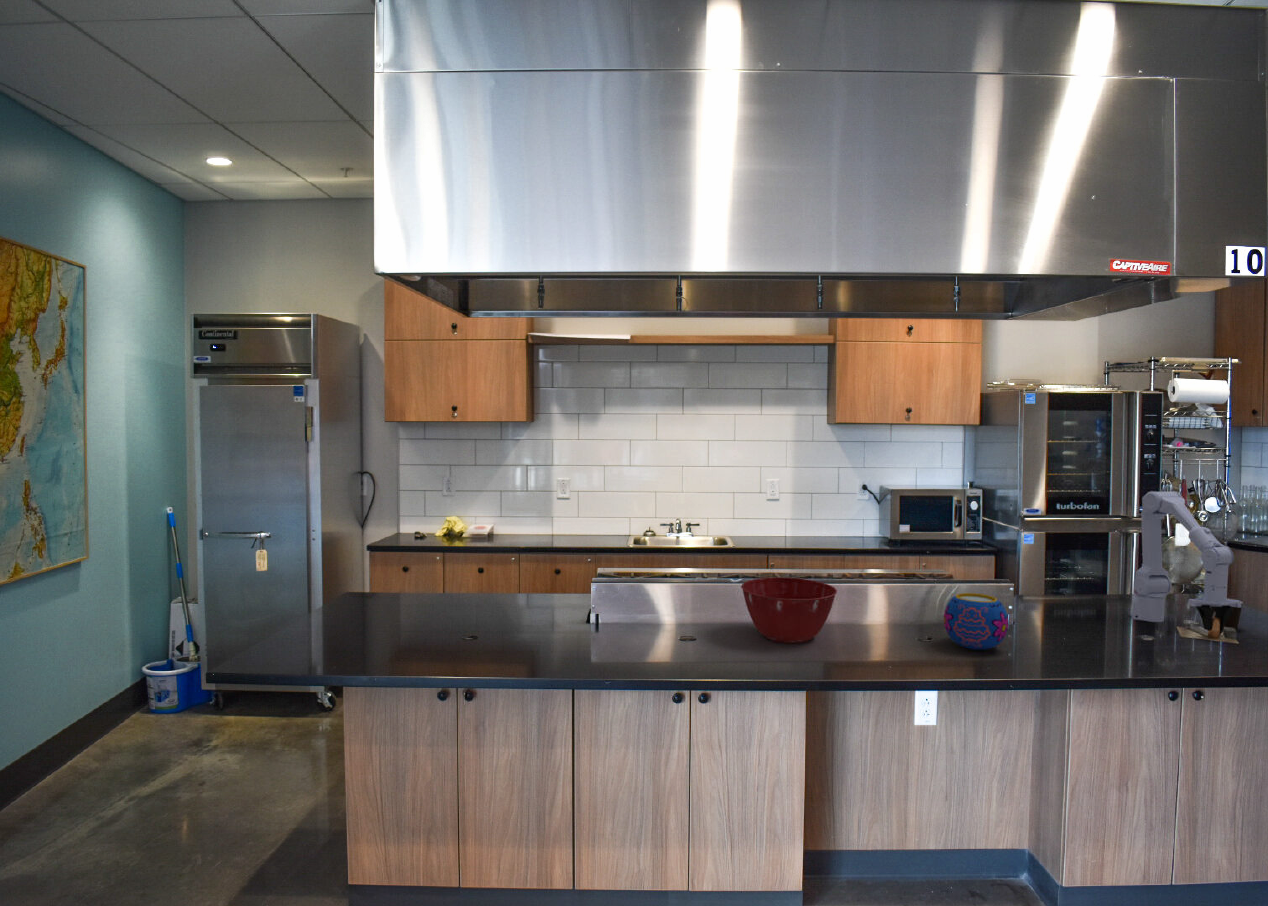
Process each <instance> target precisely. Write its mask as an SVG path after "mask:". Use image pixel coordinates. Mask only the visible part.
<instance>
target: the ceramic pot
mask: <svg viewBox="0 0 1268 906" xmlns="http://www.w3.org/2000/svg"><path fill="white" fill-rule="evenodd" d="M943 625H944V629H945V631H946V634H947V635H948V637H949V638H950V639H951V641H953V642H955V643H956V644H957V645H959V646H960V647H964V648H966V649H969V650H974V651H983V650H989V649H993V648H995V647H997V646H998V645H1000V644H1001V643H1002V642H1003V640H1004V639H1005V638H1006V635H1007V633H1008V631H1009V618H1008V614H1007V610H1006V608H1005V606H1004V605H1003V604H1002V602H1001V601H1000V600H999V599H998V598H997V597H995V596H992V595H986V594H984V593H983V594H982V593H973V592H972V593H971V592H964V593H958V594H955V595H954V596H952V598H950V600H949V601H948V603H947V604H946V607H945V609H944V613H943Z"/></svg>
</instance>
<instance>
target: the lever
mask: <svg viewBox="0 0 1268 906" xmlns="http://www.w3.org/2000/svg"><path fill="white" fill-rule="evenodd" d="M1220 621H1221V618H1219V617H1212V626H1211V631H1208V630H1206V629H1204V627H1202V626H1200V623H1198V621H1195V620H1191V619H1184V620H1183V624H1187V625H1190V629H1192V630H1194V631H1197V632H1199V633H1202V634H1204V635H1206V636H1208V637H1210V638H1220Z"/></svg>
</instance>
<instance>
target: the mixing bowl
mask: <svg viewBox="0 0 1268 906" xmlns="http://www.w3.org/2000/svg"><path fill="white" fill-rule="evenodd" d="M740 588H741V590H742V593H743V598H744V602H745V604H746V605H745V606H746V608H747V611H748V615H749V616H750V619H751V620H752V623H753V625H754V627H755V628H756V629H757V631H758V632H759V633H760V634H761V635H763V636H764V637H765V638H766V639H768V640H771V641H773V642H777V643H783V644H801V643H805V642H808V641H810V640H811V639H813V638H815V637H816V636H817V635H818V634H819V633H820V632H821V630H822V629H823V627H824V625H825V623H826V621H827V619H828V617H829V615H830V613H831V610H832V608H833V605H834V600H835V596H836V594H837V593H838V590H837V589H836V587H834V586H832V585H830V584H828V583H825V582H821V581H816V580H811V579H805V578H796V577H762V578H756V579H750V580H747V581H745V582H743V583H741V585H740Z"/></svg>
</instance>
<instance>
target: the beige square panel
mask: <svg viewBox="0 0 1268 906" xmlns="http://www.w3.org/2000/svg"><path fill="white" fill-rule="evenodd" d="M1176 629H1177V632H1178V633H1179V635H1180V637H1181V638H1189V639H1198V640H1205V641H1206V640H1207V641H1213V642H1214V641H1215V642H1223V643H1232V644H1240V643H1239V641H1238V640H1237V631H1238V630H1237V631H1236V630H1235V629H1234V628H1230V627H1224V629H1223V633H1222V634H1220V638H1210V637H1208V636H1206V635H1204V634H1202V633H1199V632H1197V631H1194V630H1192V629H1190V625H1187V624H1185V625H1184V627H1182V626H1176Z"/></svg>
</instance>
